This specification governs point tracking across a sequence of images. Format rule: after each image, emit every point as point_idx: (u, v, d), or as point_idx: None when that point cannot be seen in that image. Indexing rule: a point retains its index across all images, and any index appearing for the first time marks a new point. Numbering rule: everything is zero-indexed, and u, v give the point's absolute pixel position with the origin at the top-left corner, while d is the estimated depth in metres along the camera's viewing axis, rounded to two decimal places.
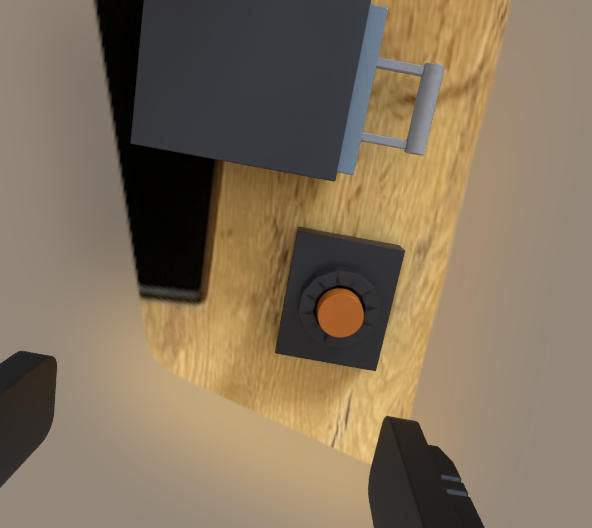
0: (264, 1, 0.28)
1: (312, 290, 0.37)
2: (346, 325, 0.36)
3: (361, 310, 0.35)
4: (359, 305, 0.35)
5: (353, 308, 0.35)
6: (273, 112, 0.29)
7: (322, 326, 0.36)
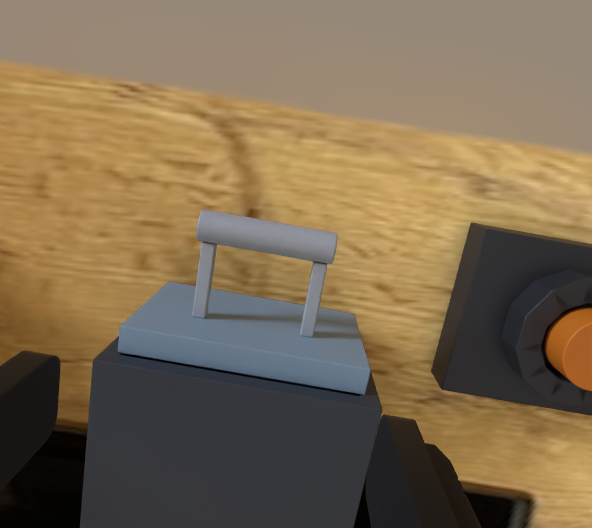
0: (124, 502, 0.19)
1: (545, 385, 0.23)
2: None
3: None
4: (587, 326, 0.21)
5: None
6: (275, 495, 0.19)
7: None
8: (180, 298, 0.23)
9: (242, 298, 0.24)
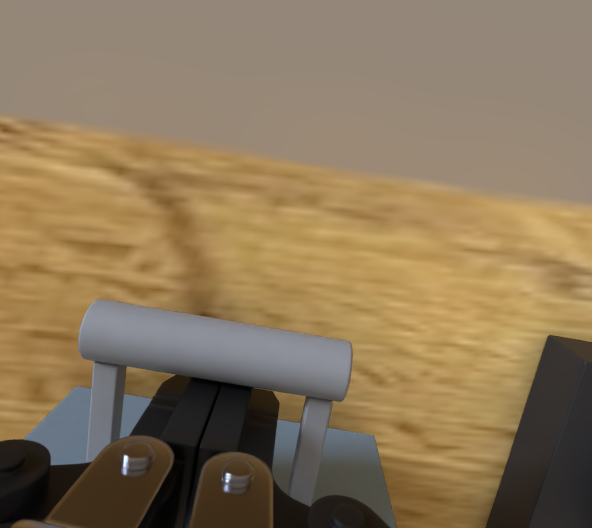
0: None
1: None
2: None
3: None
4: None
5: None
6: None
7: None
8: (80, 432, 0.13)
9: None
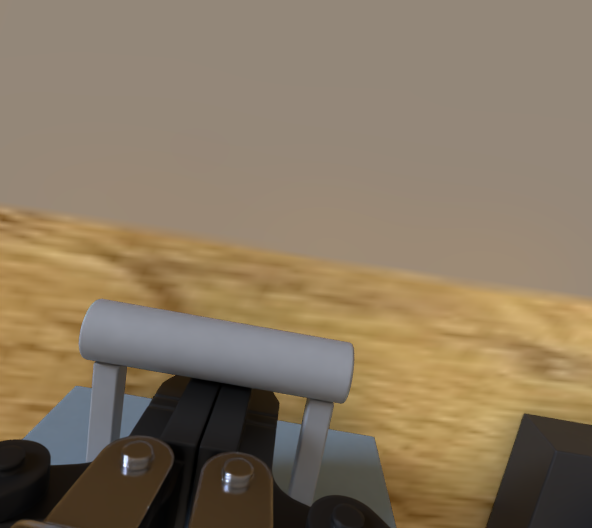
0: None
1: None
2: None
3: None
4: None
5: None
6: None
7: None
8: (79, 433, 0.13)
9: None
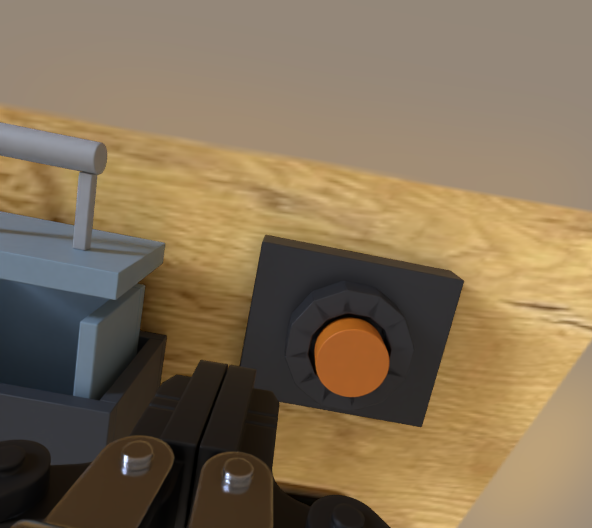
0: None
1: (315, 391, 0.24)
2: (368, 355, 0.22)
3: (344, 333, 0.22)
4: (335, 336, 0.22)
5: (340, 345, 0.22)
6: None
7: (369, 390, 0.22)
8: None
9: (46, 223, 0.24)
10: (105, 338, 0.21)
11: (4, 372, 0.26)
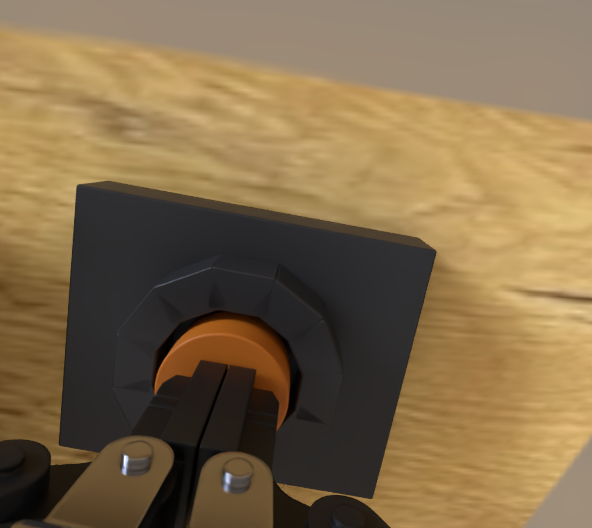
0: None
1: None
2: None
3: (201, 341, 0.12)
4: (185, 346, 0.12)
5: (195, 362, 0.12)
6: None
7: None
8: None
9: None
10: None
11: None
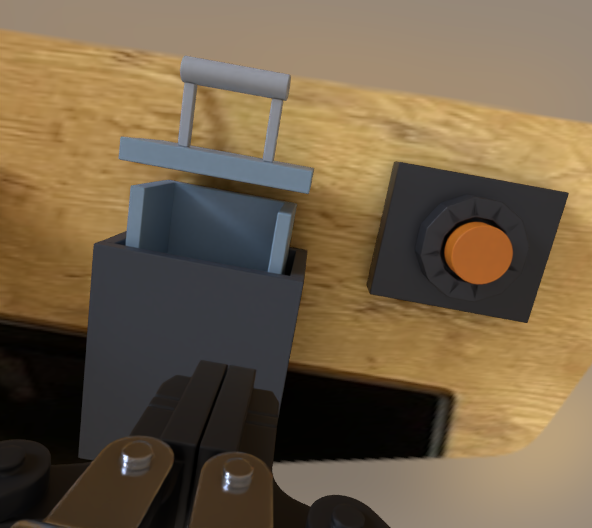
0: (117, 355, 0.26)
1: (445, 284, 0.29)
2: (496, 248, 0.27)
3: (476, 229, 0.27)
4: (469, 231, 0.27)
5: (472, 239, 0.27)
6: (227, 350, 0.26)
7: (494, 278, 0.27)
8: None
9: (221, 151, 0.30)
10: (289, 231, 0.26)
11: None
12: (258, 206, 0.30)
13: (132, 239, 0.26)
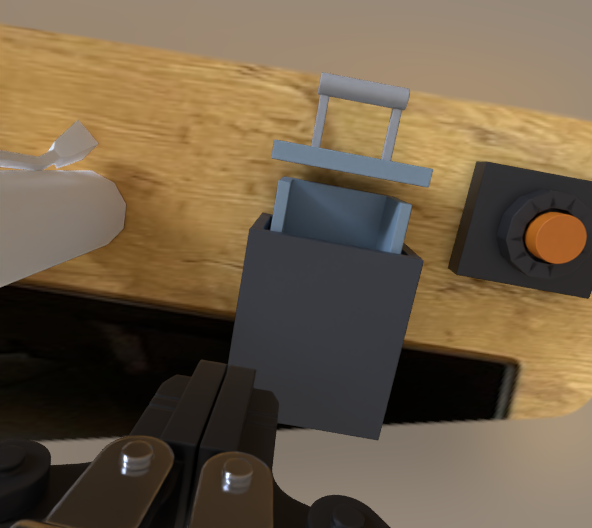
0: (261, 323, 0.31)
1: (525, 265, 0.34)
2: (573, 233, 0.33)
3: (557, 217, 0.32)
4: (551, 219, 0.32)
5: (554, 226, 0.32)
6: (355, 318, 0.31)
7: (570, 258, 0.33)
8: None
9: None
10: None
11: None
12: (363, 199, 0.36)
13: (276, 225, 0.31)
